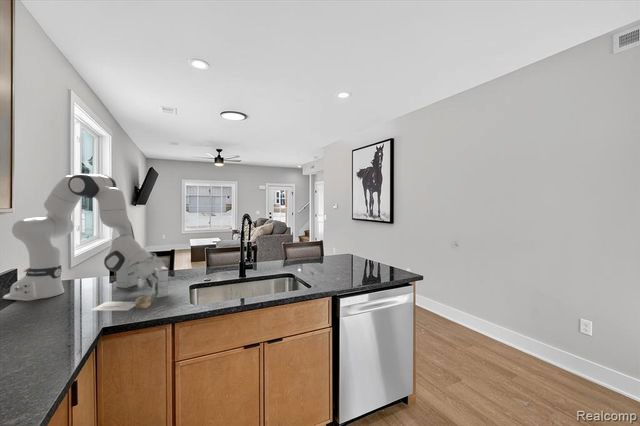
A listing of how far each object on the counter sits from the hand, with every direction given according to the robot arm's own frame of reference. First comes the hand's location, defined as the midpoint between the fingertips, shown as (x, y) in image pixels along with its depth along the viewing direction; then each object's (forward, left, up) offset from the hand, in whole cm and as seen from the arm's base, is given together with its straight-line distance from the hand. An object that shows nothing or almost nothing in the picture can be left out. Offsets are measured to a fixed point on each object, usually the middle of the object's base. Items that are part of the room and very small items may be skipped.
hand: (161, 279), depth 146 cm
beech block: (-1, -16, -9) cm, 18 cm away
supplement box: (-27, +17, -9) cm, 33 cm away
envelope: (-13, -15, -8) cm, 21 cm away
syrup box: (-1, 0, -9) cm, 9 cm away
